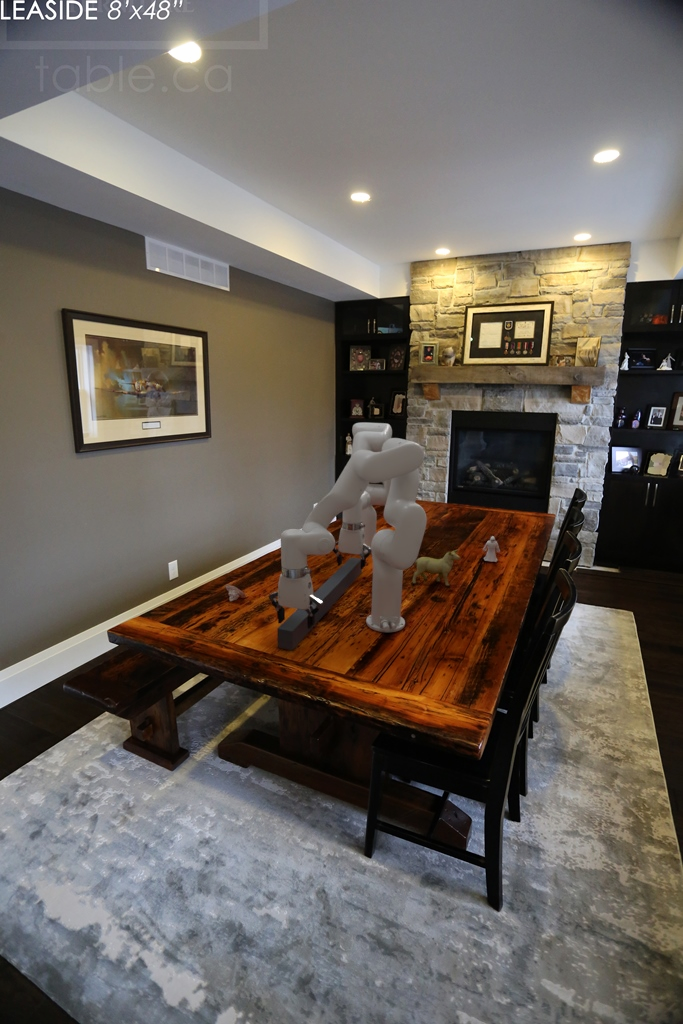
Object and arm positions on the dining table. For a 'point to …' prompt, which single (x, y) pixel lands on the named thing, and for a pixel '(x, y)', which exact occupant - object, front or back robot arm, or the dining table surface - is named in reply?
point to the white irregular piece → (234, 592)
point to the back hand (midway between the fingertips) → (351, 566)
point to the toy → (435, 566)
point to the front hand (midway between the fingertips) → (296, 624)
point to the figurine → (491, 550)
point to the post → (327, 593)
